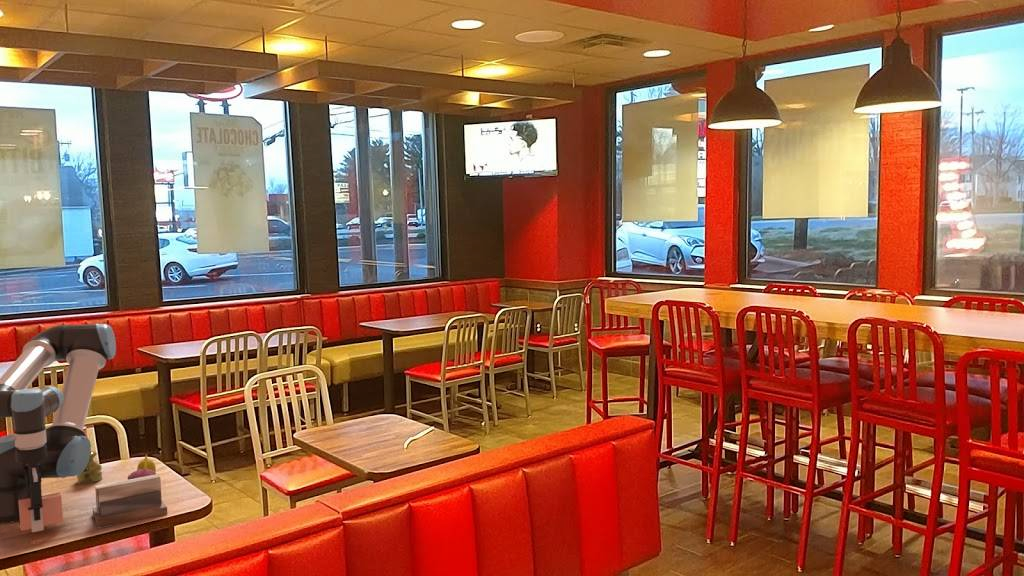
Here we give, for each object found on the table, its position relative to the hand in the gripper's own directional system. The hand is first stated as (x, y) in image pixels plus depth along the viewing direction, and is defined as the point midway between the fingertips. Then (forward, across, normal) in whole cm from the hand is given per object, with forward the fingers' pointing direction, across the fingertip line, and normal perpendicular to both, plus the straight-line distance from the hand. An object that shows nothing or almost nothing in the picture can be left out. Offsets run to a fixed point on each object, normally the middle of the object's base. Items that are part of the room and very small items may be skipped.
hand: (37, 528), depth 223 cm
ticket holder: (+2, 0, +24) cm, 24 cm away
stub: (-1, 0, +1) cm, 1 cm away
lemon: (+2, -27, +34) cm, 43 cm away
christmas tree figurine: (+2, -40, +19) cm, 44 cm away
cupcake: (+2, -18, +31) cm, 36 cm away
